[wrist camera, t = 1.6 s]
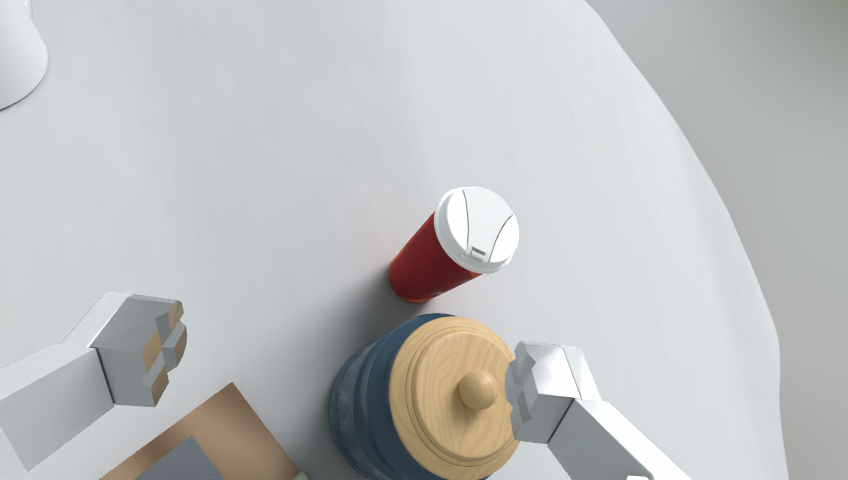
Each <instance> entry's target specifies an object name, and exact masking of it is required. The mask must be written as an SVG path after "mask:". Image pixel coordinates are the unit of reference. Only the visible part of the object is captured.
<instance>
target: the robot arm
mask: <svg viewBox="0 0 848 480" xmlns="http://www.w3.org/2000/svg"><path fill="white" fill-rule="evenodd" d="M47 63H48V53H47V48H46V45H45V42H44V40H43V38H42V36H41V34H40V33H39V31H38V30H37V28H36V26H35V25H34V23H33V21H32V19H31V2H30V0H0V109H2V108H5V107H7V106H9V105H11V104H13V103H15V102H17V101H19V100H20V99H22V98H23V97H25V96H26V95H28V94H29V93H30V92H31V91H32V90H33V89H34V88H35V87H36V86H37V85H38V84H39V82H40V81H41V79H42V78H43V76H44V74H45V71H46V68H47ZM183 313H184V312H183V307H182V302H180V301H178V300H171V299H164V298H157V297H150V296H143V295H136V294H126V293H119V292H112V291H109V292H108V293H106V294H104V295H102V296H101V297H100V299H99V300H98V301H97V302H96V303H95V305H94V306H93V307H92V308H91V309H90V310H89V312H88V313H87V314H86V315H85V316H84V317H83V319H82V320H81V321H80V322H79V323H78V324H77V326H76V327H75V328H74V329H73V330H72V331H71V333H70V334H69V335H68V336H67V337H66V338H65V340H64V341H63V342H62V343H61V344H52V345H50V346H47V347H45V348H43V349H41V350H39V351H37V352H35V353H33V354H31V355H29V356H27V357H25V358H23V359H21V360H18V361H16V362H14V363H12V364H10V365H8V366H6V367H4V368H2V369H0V480H32V479H31V477H30V475H29V474H28V471H29V470H31V469H32V468H33V467H35V466H36V465H37V464H39V463H40V462H41V461H43V460H44V459H45V458H47V457H48V456H49V455H51V454H52V453H53V452H55V451H56V450H57V449H59V448H60V447H61V446H63V445H64V444H65V443H67V442H68V441H69V440H71V439H72V438H73V437H75V436H76V435H77V434H79V433H80V432H81V431H82V430H84V429H85V428H86V427H88V426H89V425H90V424H92V423H93V422H94V421H96V420H97V419H98V418H100V417H101V416H102V415H104V414H105V413H106V412H108V411H109V410H110V409H112V408H113V407H114V404H115V405H130V406H145V407H156V405H157V403H158V401H159V399H160V397H161V396H162V394H163V392H164V390H165V388H166V386H167V385H168V383H169V381H168V375H167V372H169V371H171V370H172V369H174V368H175V367H177V366H178V364H179V362H180V360H181V358H182V356H183V353H184V350H185V346H186V341H187V331H186V326H185V325H184V324H183V323H182V322H181V321H180V318H181V317H182V315H183ZM515 356H516V359H515V360H513V361H511V362H510V363H509V365H508V368H507V370H506V374H505V382H504V385H505V395H506V400H507V401H508V402H509V403H510V404H511V406H512V407H513V409H512V411H511V413H510V421H511V426H512V431H513V436H514V440H517V441H526V442H534V443H542V444H548V445H547V446H548V448H549V449H550V450H551V452H552V453H553V454H554V456H555V457H556V459H557V460H558V461H559V463H560V464H561V465H562V467H563V468H564V469H565V471H566V472H567V473H568V475H569V476H570V478H571V479H572V480H691V479H690V478H689V477H688V476H687V475H686V474H684V473H683V472H682V471H681V470H680V469H679V468H678V467H677V466H676V465H675V464H674V463H673V462H672V461H671V460H669V459H668V458H667V457H666V456H665V455H664V454H663V453H662V452H661V451H660V450H659V449H658V448H657V447H656V446H654V445H653V444H652V443H651V442H650V441H649V440H648V439H647V438H646V437H645V436H644V435H643V434H642V433H641V432H639V431H638V430H637V429H636V428H635V427H634V426H633V425H632V424H631V423H630V422H629V421H628V420H627V419H625V418H624V417H623V416H622V415H621V414H620V413H619V412H618V411H617V410H616V409H615V408H614V407H613V406H612V405H610V404H609V403H608V402H604V401H602V400H601V397H600V395H599V392H598V390H597V387H596V385H595V382H594V380H593V378H592V375H591V373H590V370H589V368H588V365H587V363H586V360H585V358H584V355H583V353H582V350H581V349H580V348H579V347H573V346H564V345H555V344H546V343H536V342H527V341H520V342H519V343H518V344H517V346H516V349H515Z"/></svg>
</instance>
